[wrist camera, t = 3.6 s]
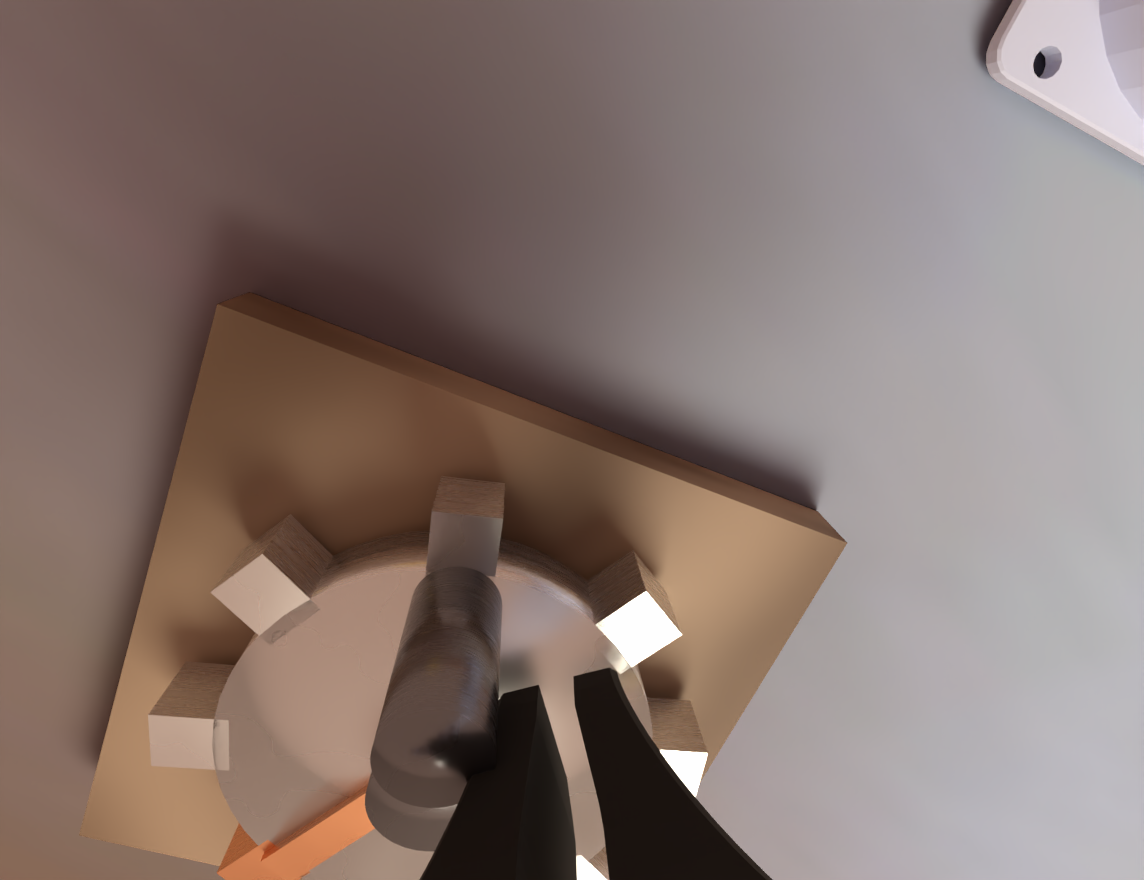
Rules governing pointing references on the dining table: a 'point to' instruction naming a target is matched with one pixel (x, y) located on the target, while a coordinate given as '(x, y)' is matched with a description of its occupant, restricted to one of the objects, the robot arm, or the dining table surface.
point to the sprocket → (405, 688)
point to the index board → (404, 504)
